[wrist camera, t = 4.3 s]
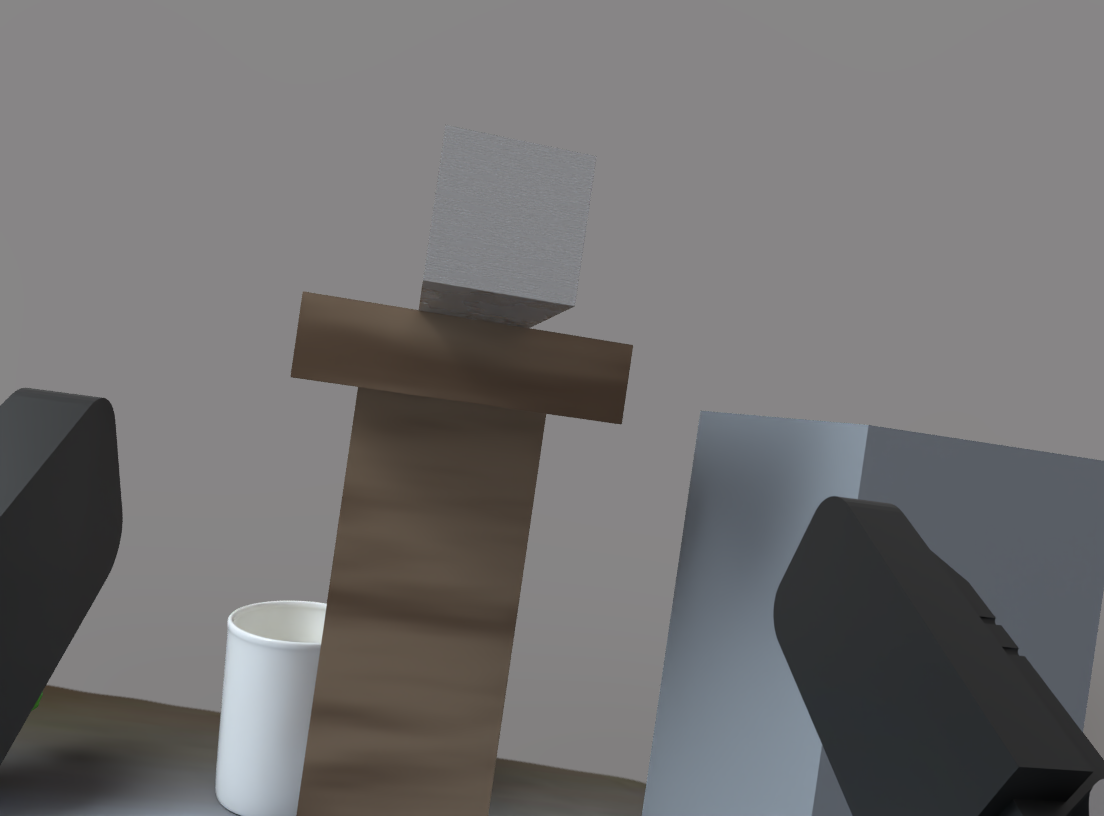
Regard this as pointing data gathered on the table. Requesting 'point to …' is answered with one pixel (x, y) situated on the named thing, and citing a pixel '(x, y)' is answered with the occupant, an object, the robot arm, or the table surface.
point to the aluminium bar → (506, 229)
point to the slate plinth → (768, 547)
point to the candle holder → (267, 705)
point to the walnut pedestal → (431, 543)
